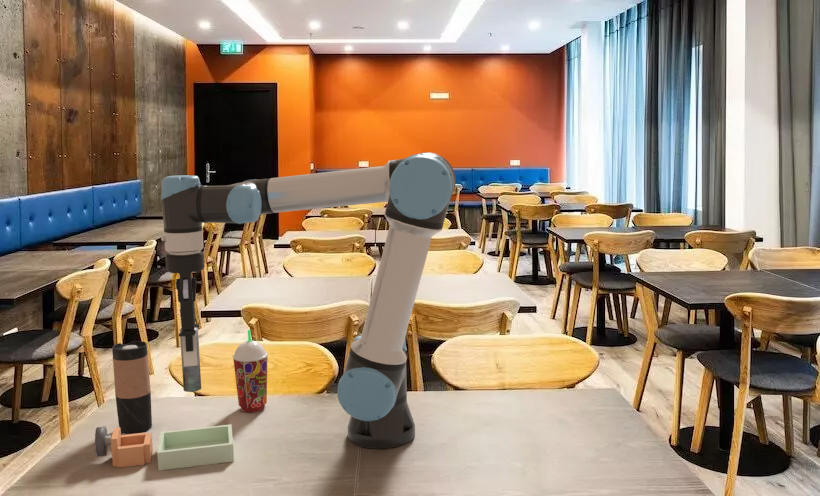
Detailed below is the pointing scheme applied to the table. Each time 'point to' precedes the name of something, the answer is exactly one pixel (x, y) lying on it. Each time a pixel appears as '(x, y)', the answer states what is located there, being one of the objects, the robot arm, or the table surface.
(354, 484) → the table surface
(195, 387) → the pin
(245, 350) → the smoothie
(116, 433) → the block
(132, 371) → the travel mug
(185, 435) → the tray
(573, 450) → the table surface
